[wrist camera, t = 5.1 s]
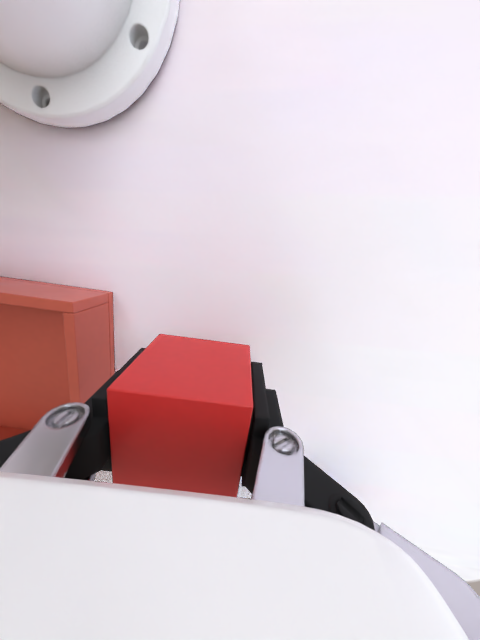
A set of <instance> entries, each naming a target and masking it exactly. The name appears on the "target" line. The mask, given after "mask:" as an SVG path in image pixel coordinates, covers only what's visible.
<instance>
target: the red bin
mask: <svg viewBox="0 0 480 640" xmlns="http://www.w3.org/2000/svg"><path fill="white" fill-rule="evenodd" d="M114 374H115V367H114V327H113V292H109V291H101V290H94V289H87V288H80V287H73V286H65V285H58V284H51V283H44V282H36V281H29V280H22V279H15V278H7V277H0V441H1V440H3V439H6V438H9V437H12V436H15V435H18V434H21V433H24V432H27V431H29V430H32V429H33V427H34V426H35V425H36V424H37V422H38V421H39V420H40V419H41V418H42V416H43V415H45V414H46V413H47V412H48V411H50V410H51V409H53V408H55V407H57V406H60V405H63V404H66V403H73V402H80V403H85V402H86V401H87V400H88V399H89V398H90V397H91V396H92V395H93V394H94V393H95V392H96V391H97V390H98V389H99V388H100V387H101V386H102V385H103V384H104V383H105V382H106V381H107V380H108V379H109V378H110V377H111V376H112V375H114Z"/></svg>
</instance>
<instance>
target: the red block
mask: <svg viewBox="0 0 480 640" xmlns="http://www.w3.org/2000/svg"><path fill="white" fill-rule="evenodd" d="M107 403H108V418H109V433H110V448H111V463H112V478H113V483H116V484H125V485H134V486H143V487H152V488H161V489H170V490H179V491H187V492H196V493H204V494H213V495H221V496H230V497H237V493H238V487H239V482H240V476H241V471H242V466H243V460H244V455H245V449H246V444H247V438H248V433H249V428H250V422H251V417H252V411H253V394H252V377H251V360H250V346H249V345H242V344H234V343H227V342H219V341H211V340H203V339H196V338H188V337H180V336H172V335H165V334H159V335H158V336H157V337H156V338H155V339H154V340H153V341H152V342H151V343H150V345H149V346H148V347H147V348H146V349H145V350H144V351H143V352H142V353H141V354H140V355H139V356H138V357H137V358H136V359H135V360H134V361H133V362H132V363H131V364H130V365H129V366H128V367H127V368H126V369H125V370H124V372H123V373H122V374H121V375H120V376H119V377H118V378H117V379H116V380H115V381H114V382H113V383H112V384H111V385H110V386H109V387H108V388H107Z"/></svg>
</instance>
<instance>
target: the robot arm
mask: <svg viewBox="0 0 480 640" xmlns="http://www.w3.org/2000/svg"><path fill="white" fill-rule="evenodd" d="M179 3H180V0H0V103H2V104H3V105H5V106H6V107H8V108H10V109H11V110H13V111H15V112H16V113H18V114H20V115H23V116H25V117H27V118H30V119H32V120H34V121H37V122H39V123H42V124H47V125H53V126H58V127H63V128H66V127H87V126H90V125H94V124H97V123H101V122H104V121H107V120H109V119H111V118H112V117H114V116H116V115H118V114H119V113H121V112H123V111H125V110H126V109H127V108H128V107H129V106H130V105H131V104H133V103H134V102H135V101H136V100H137V99H138V98H139V97H140V96H141V95H142V94H143V93H144V92H145V90H146V89H147V87H148V86H149V85H150V83H151V82H152V80H153V79H154V78H155V76H156V75H157V73H158V71H159V69H160V67H161V65H162V63H163V60H164V58H165V56H166V54H167V52H168V50H169V47H170V44H171V40H172V37H173V33H174V29H175V25H176V22H177V18H178V11H179ZM145 349H146V348H141V349H140V350H139V351H138V352H137V353H136V354H135V355H134V356H133V357H132V358H131V359H130V360H129V361H128V362H127V363H126V364H125V365H124V366H123V367H122V368H121V369H120V370H119V371H117V372H116V373H115V374H114V375H112V376H111V377H110V378H109V379H108V380H107V381H106V382H105V383H104V384H103V385H102V386H101V387H100V388H99V389H98V390H97V391H96V392H95V393H94V394H93V395H92V396H91V397H90V398H89V399H88V400H87V401H86V402H85V403H80V402H73V403H66V404H63V405H60V406H57V407H55V408H53V409H51V410H50V411H48V412H47V413H46V414H45V415H43V416H42V418H41V419H40V420H39V421H38V422H37V424H36V425H35V426H34V427H33V429H32V430H29V431H27V432H24V433H21V434H18V435H15V436H12V437H9V438H6V439H3V440H1V441H0V640H480V597H479V596H478V595H477V594H476V593H475V591H474V590H473V589H472V588H471V587H470V586H469V584H467V583H466V582H465V581H464V580H463V579H462V578H460V577H459V576H458V575H457V574H456V573H454V572H453V571H451V570H450V569H448V568H447V567H446V566H444V565H443V564H441V563H440V562H438V561H437V560H435V559H434V558H433V557H431V556H430V555H428V554H427V553H425V552H424V551H422V550H421V549H419V548H418V547H417V546H415V545H414V544H412V543H411V542H409V541H408V540H406V539H405V538H404V537H402V536H401V535H399V534H398V533H396V532H395V531H393V530H392V529H391V528H389V527H388V526H386V525H385V524H383V523H381V525H380V526H379V525H378V524H376V523H375V522H374V521H373V520H372V518H371V516H370V514H369V512H368V511H367V509H366V508H365V507H364V505H363V504H362V503H361V502H360V501H359V500H358V499H357V498H355V497H354V496H353V495H352V494H351V493H349V492H348V491H347V490H346V489H344V488H343V487H342V486H341V485H339V484H338V483H337V482H336V481H335V480H333V479H332V478H331V477H330V476H328V475H327V474H326V473H325V472H324V471H322V470H321V469H320V468H319V467H317V466H316V465H315V464H314V463H312V462H311V461H310V460H309V459H308V458H306V457H305V456H304V448H303V443H302V441H301V439H300V437H299V436H298V435H297V434H296V433H295V432H293V431H292V430H290V429H288V428H285V427H283V422H282V418H281V413H280V409H279V404H278V399H277V395H276V391H275V390H271V389H266V388H265V381H264V375H263V368H262V363H257V362H251V377H252V394H253V411H252V417H251V422H250V428H249V433H248V438H247V444H246V449H245V455H244V460H243V466H242V471H241V476H242V486H246V488H247V489H248V490H249V491H250V492H251V493H252V496H251V499H247V498H238V497H230V496H221V495H213V494H204V493H196V492H187V491H179V490H170V489H161V488H152V487H143V486H134V485H125V484H116V483H107V482H98V481H94V479H95V476H96V473H97V472H98V471H100V470H104V471H112V463H111V448H110V433H109V418H108V403H107V388H108V387H109V386H110V385H111V384H112V383H113V382H114V381H115V380H116V379H117V378H118V377H119V376H120V375H121V374H122V373H123V372H124V370H125V369H126V368H127V367H128V366H129V365H130V364H131V363H132V362H133V361H134V360H135V359H136V358H137V357H138V356H139V355H140V354H141V353H142V352H143V351H144V350H145Z"/></svg>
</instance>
